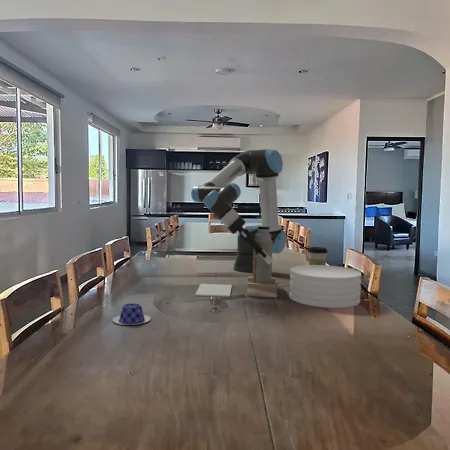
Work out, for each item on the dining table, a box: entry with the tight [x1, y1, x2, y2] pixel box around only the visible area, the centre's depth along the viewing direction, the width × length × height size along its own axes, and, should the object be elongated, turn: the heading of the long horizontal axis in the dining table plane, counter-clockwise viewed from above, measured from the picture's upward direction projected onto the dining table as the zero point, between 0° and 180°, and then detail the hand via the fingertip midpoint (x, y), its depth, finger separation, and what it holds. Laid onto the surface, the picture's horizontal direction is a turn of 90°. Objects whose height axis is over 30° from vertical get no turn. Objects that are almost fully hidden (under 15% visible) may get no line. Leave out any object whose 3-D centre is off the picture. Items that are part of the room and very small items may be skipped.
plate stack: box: [288, 264, 362, 309], centre depth 172 cm, size 28×28×12 cm
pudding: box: [112, 302, 152, 326], centre depth 137 cm, size 12×12×5 cm
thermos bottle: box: [252, 225, 273, 284], centre depth 179 cm, size 8×8×28 cm
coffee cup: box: [307, 246, 329, 265], centre depth 215 cm, size 10×10×15 cm
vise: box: [246, 276, 285, 298], centre depth 180 cm, size 15×15×5 cm
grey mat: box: [195, 283, 233, 298], centre depth 181 cm, size 20×14×1 cm
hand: (270, 260), depth 179 cm, fingers closed on thermos bottle, 8 cm apart
